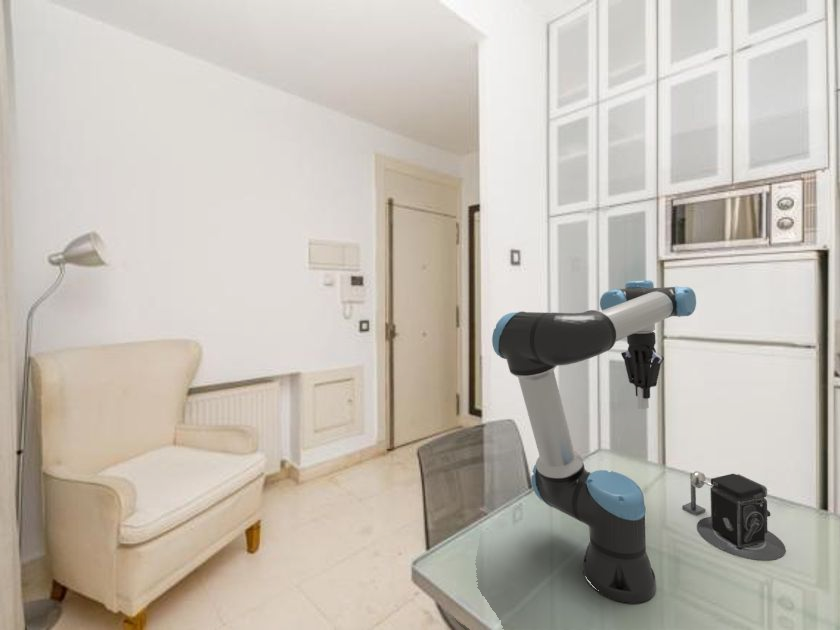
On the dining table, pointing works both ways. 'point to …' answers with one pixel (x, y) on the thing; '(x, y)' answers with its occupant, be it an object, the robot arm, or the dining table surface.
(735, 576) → the dining table surface
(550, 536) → the dining table surface
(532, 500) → the dining table surface
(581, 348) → the robot arm
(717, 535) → the disc
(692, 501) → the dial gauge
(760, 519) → the camera
